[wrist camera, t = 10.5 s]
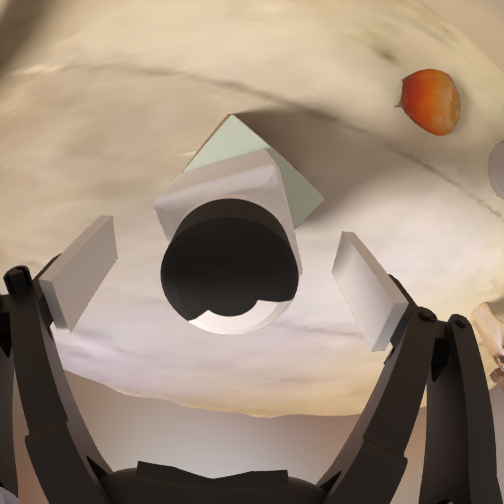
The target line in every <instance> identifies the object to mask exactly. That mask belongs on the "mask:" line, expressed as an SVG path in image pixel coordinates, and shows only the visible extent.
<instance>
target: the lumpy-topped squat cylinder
mask: <svg viewBox="0 0 504 504" xmlns="http://www.w3.org/2000/svg"><path fill="white" fill-rule="evenodd" d="M488 172H489V178H490V182H491V185H492V187H493V189H494V191H495V193H496V195H497V196H499V197H501V198H502V199H504V141H503V142H501V143H499V144H497V145H496V147H495V148H494V149H493V151H492V153H491V155H490V158H489V163H488Z"/></svg>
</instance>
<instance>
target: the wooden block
mask: <svg viewBox="0 0 504 504" xmlns="http://www.w3.org/2000/svg"><path fill="white" fill-rule="evenodd" d="M490 377H491V379H492V380H493V382H494V383H495V382H498V383H499V384H500V385H501V387H502V389H503V390H504V371H502V370H501V369H500V368H499V369H495V370H494V371H493V372H492V374H491V375H490Z"/></svg>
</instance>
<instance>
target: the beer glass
mask: <svg viewBox="0 0 504 504" xmlns="http://www.w3.org/2000/svg"><path fill="white" fill-rule="evenodd" d="M469 322H470V323H471V325H472V327H474V328H475V329H476V330H477V331H478V332H479V334H480V335H481V337H482V339H483V342H484V344H485V346H486V348H487V350H488V352H489V354H490V355H491V357H492V358H493V360H494V361H495V362H496V364H497V365H498V366H499V367H500V369H501V370H502V371H504V322H502V321H501V320H500V319H499V318H497V317H496V316H495V315H494V314H493V312H492V311H491V309H490V307H489V306H488V304H487V303H482V304H480V305H479V306H478V307H477V308H476V309H475V310H474V311H473V312H472V314H471V316H470V318H469Z"/></svg>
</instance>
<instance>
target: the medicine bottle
mask: <svg viewBox="0 0 504 504" xmlns="http://www.w3.org/2000/svg"><path fill="white" fill-rule="evenodd" d="M154 209H155V211H156V214H157V216H158V218H159V221H160V223H161V226H162V228H163V230H164V233H165V235H166V237H167V240H168V242H169V246H168V248H167V250H166V252H165V255H164V258H163V261H162V265H161V283H162V288H163V291H164V293H165V296H166V298H167V299H168V301H169V303H170V304H171V306H172V307H173V308H174V309H175V310H176V311H177V312H178V314H180V315H181V316H182V317H183V318H184V319H186V320H187V321H188V322H190V323H191V324H193V325H195V326H197V327H199V328H201V329H204V330H206V331H209V332H214V333H219V334H243V333H248V332H252V331H255V330H258V329H260V328H262V327H264V326H266V325H268V324H270V323H271V322H273V321H274V320H275V319H277V318H278V317H279V316H280V315H281V314H282V313H283V312H284V311H285V310H286V309H287V308H288V307H289V305H290V304H291V302H292V300H293V298H294V296H295V294H296V291H297V287H298V281H299V276H300V275H301V274H302V270H303V269H302V264H301V259H300V255H299V250H298V245H297V241H296V236H295V232H294V228H293V223H292V219H291V215H290V210H289V206H288V202H287V198H286V194H285V189H284V185H283V181H282V177H281V173H280V170H279V167H278V166H277V164H276V163H275V161H274V160H273V159H272V157H271V156H270V155H269V153H268V152H267V151H266V150H264V149H261V150H257V151H253V152H249V153H246V154H242V155H238V156H235V157H232V158H228V159H225V160H221V161H218V162H215V163H211V164H208V165H205V166H202V167H199V168H196V169H193V170H190V171H187V172H184V173H181V174H179V175H178V176H177V177H176V178H175V179H174V180H173V181H172V182H171V183H170V184H169V185H168V186H167V187H166V188H165V189H164V190H163V192H162V193H161V194H160V195H159V196H158V197H157V198H156V199H155V201H154Z"/></svg>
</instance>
